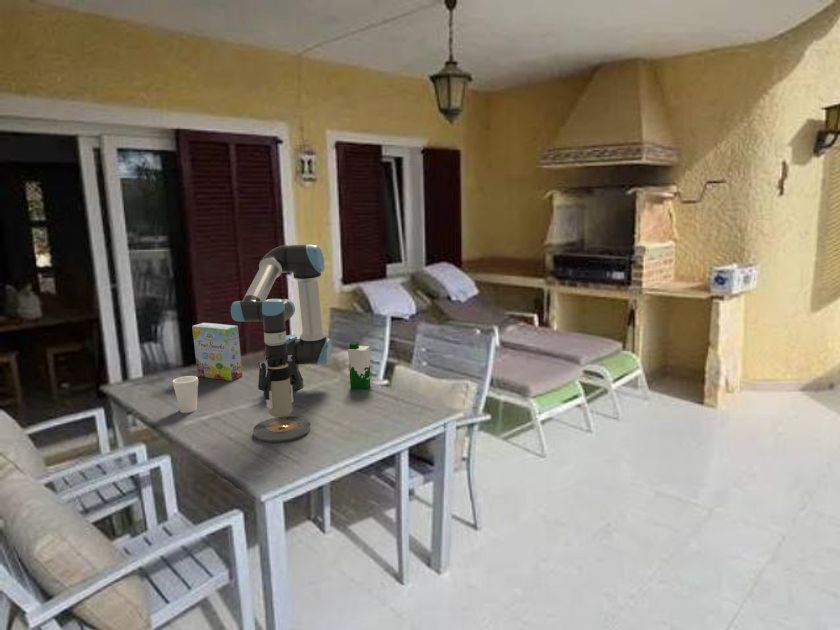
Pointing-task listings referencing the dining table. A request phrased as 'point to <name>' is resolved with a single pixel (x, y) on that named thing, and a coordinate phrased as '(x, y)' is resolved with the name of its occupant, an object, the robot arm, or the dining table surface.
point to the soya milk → (359, 366)
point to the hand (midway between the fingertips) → (280, 404)
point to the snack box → (217, 351)
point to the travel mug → (280, 391)
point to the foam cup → (186, 393)
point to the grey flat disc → (281, 429)
